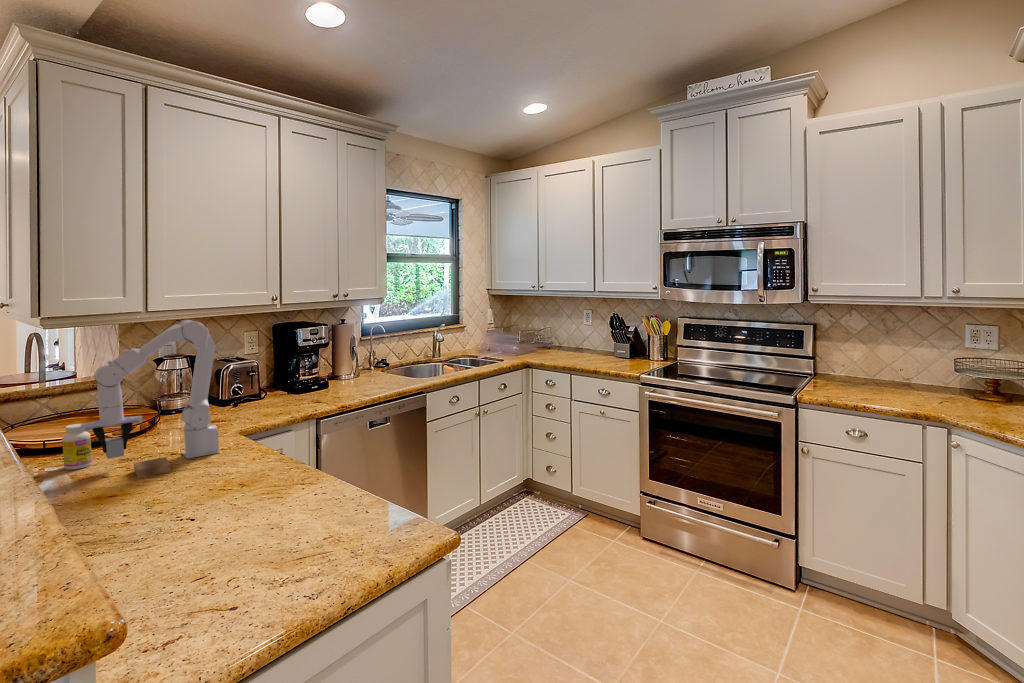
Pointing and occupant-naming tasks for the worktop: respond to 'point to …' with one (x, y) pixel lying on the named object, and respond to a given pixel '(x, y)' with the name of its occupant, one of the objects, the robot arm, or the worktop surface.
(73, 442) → the supplement bottle
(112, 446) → the gray block
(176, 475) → the worktop surface
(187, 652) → the worktop surface
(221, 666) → the worktop surface
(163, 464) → the walnut block
